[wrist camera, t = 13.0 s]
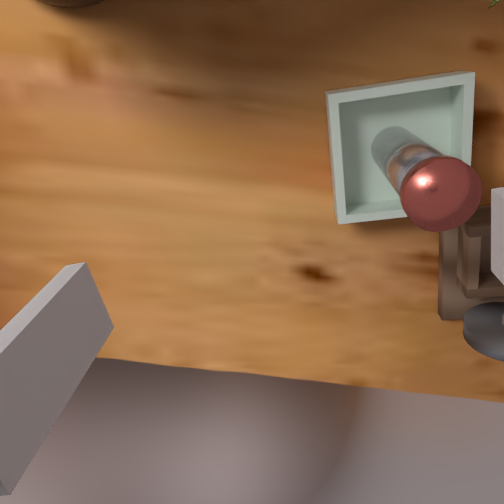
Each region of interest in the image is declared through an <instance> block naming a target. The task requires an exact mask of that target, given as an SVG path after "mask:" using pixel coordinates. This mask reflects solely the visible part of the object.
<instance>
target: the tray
mask: <svg viewBox="0 0 504 504" xmlns="http://www.w3.org/2000/svg"><path fill="white" fill-rule="evenodd" d="M474 88H475V72H467V71H454V72H447V73H441V74H434V75H428V76H421V77H415V78H408V79H402V80H395V81H389V82H382V83H376V84H369V85H363V86H356V87H350V88H343V89H337V90H330V91H325V98H326V110H327V122H328V135H329V147H330V159H331V172H332V184H333V196H334V209H335V214H336V218H337V222H338V224H347V223H356V222H365V221H374V220H383V219H392V218H402V217H408V216H407V215H406V213H405V212H404V210H403V208H402V206H401V203H400V198H399V195H398V194H397V192H396V191H395V190H394V188H393V187H392V185H391V184H390V183H389V181H388V180H387V178H386V177H385V176H384V174H383V173H382V171H381V170H380V169H379V167H378V166H377V165H376V163H375V162H374V160H373V158H372V155H371V145H372V142H373V140H374V138H375V137H376V135H377V134H378V133H379V132H380V131H382V130H383V129H385V128H388V127H391V126H399V127H403V128H405V129H407V130H408V131H410V132H411V133H413V134H414V135H416V136H417V137H419V138H420V139H422V140H423V141H425V142H426V143H427V144H429V145H430V146H432V147H433V148H435V149H436V150H438V151H439V152H441V153H442V154H444V155H448V156H453V157H456V158H458V159H460V160H462V161H463V162H465V163H466V164H468V165H469V166H471V153H472V131H473V109H474Z"/></svg>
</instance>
